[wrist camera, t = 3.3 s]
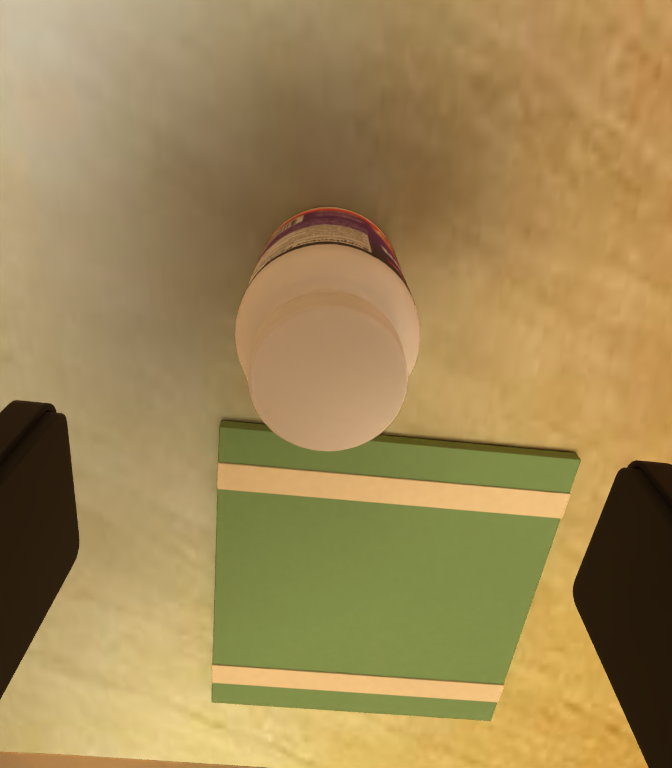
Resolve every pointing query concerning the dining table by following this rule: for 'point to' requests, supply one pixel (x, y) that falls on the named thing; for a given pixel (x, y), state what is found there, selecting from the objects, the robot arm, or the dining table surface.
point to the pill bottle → (327, 331)
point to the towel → (377, 570)
